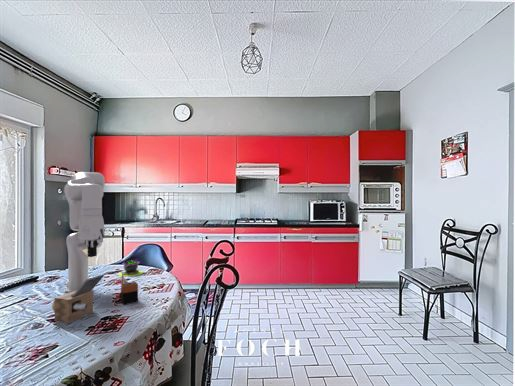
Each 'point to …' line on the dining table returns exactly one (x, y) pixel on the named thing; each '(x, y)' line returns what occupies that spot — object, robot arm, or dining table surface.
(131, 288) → the battery
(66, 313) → the block
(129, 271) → the toy cauldron
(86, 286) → the grey flat plate
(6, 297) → the dining table surface
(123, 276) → the tow hook
